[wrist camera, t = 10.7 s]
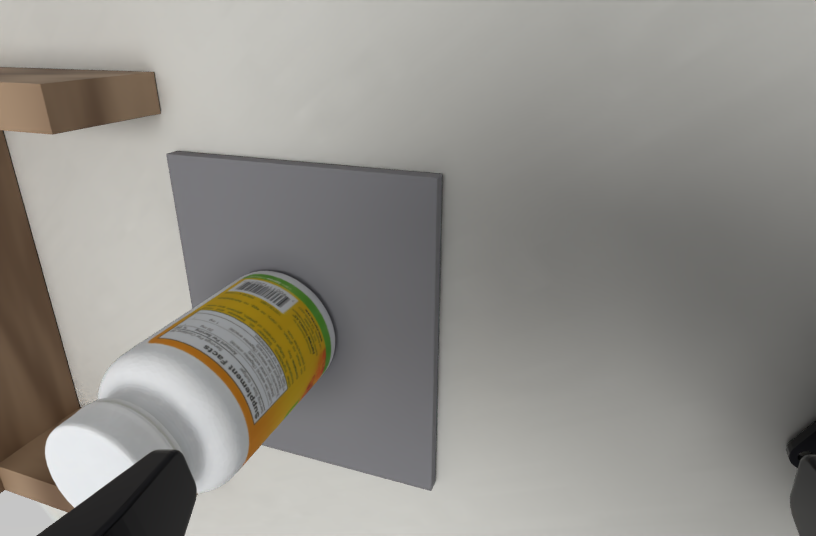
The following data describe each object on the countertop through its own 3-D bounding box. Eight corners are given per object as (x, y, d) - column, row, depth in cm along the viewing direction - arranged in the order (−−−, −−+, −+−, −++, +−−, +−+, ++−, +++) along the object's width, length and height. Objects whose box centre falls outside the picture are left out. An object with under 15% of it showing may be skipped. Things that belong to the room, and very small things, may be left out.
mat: (442, 173, 20) (436, 177, 20) (435, 481, 26) (431, 490, 25) (176, 151, 24) (166, 154, 23) (220, 424, 29) (213, 431, 29)
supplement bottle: (268, 391, 26) (96, 565, 18) (208, 289, 25) (-6, 424, 17) (361, 363, 24) (210, 551, 15) (298, 249, 23) (100, 384, 14)
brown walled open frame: (153, 71, 23) (10, 86, 17) (220, 469, 31) (136, 560, 25) (-40, 65, 26) (-207, 76, 21) (65, 423, 34) (-37, 495, 29)
